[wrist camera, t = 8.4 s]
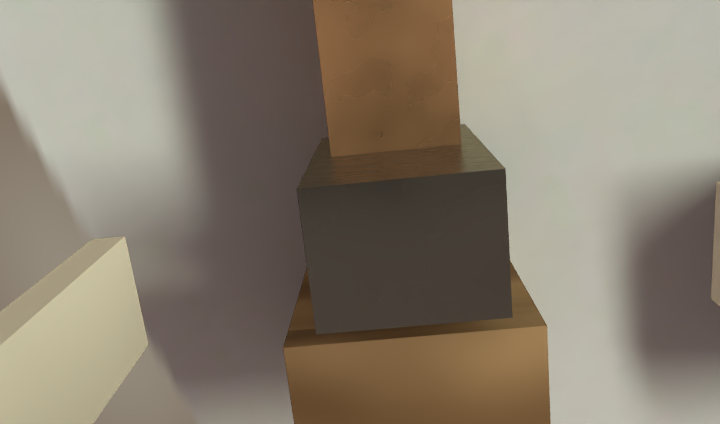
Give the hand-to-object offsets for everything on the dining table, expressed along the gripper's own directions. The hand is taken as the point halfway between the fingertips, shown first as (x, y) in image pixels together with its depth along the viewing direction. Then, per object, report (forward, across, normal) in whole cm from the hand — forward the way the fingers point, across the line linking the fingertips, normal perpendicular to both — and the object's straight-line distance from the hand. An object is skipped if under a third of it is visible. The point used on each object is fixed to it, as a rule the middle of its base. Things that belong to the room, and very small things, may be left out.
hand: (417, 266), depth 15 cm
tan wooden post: (+10, 0, +3) cm, 11 cm away
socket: (+12, 0, -7) cm, 14 cm away
